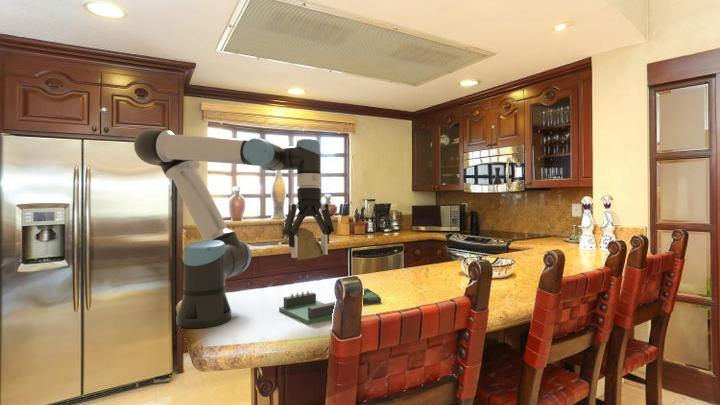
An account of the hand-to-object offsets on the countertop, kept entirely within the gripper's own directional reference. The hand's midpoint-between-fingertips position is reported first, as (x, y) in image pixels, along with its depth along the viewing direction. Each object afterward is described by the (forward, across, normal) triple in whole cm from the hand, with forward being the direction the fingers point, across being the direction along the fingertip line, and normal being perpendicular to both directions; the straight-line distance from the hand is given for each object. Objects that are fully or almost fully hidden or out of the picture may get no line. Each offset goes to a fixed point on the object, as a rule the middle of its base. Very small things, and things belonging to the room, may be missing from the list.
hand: (309, 255), depth 119 cm
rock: (+1, 0, 0) cm, 1 cm away
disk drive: (+19, +24, +3) cm, 30 cm away
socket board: (+18, 0, -1) cm, 18 cm away
